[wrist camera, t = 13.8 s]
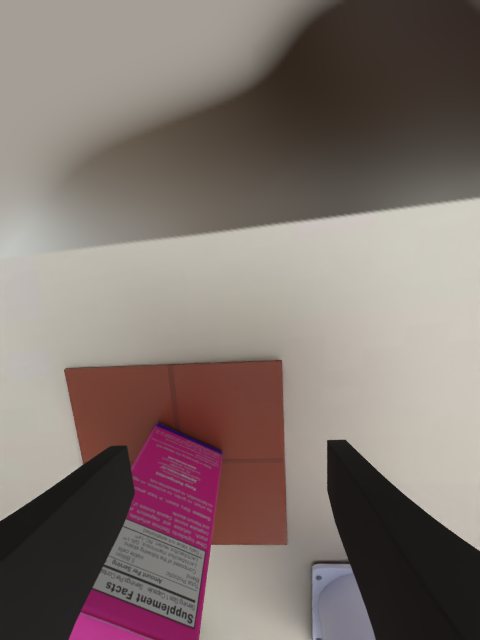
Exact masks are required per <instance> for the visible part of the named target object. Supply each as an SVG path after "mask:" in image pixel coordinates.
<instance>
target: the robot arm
mask: <svg viewBox="0 0 480 640" xmlns="http://www.w3.org/2000/svg"><path fill="white" fill-rule="evenodd" d="M327 491H328V495H329V499H330V503H331V507H332V511H333V515H334V519H335V523H336V526H337V529H338V532H339V535H340V537H341V540H342V543H343V546H344V549H345V551H346V554H347V557H348V560H349V563H350V564H315V565H313V567H312V640H480V551H479V550H477V549H476V548H474V547H473V546H471V545H470V544H468V543H467V542H466V541H464V540H463V539H461V538H460V537H459V536H457V535H456V534H454V533H453V532H452V531H450V530H449V529H448V528H446V527H445V526H443V525H442V524H441V523H439V522H438V521H437V520H435V519H434V518H433V517H431V516H430V515H429V514H428V513H426V512H425V511H424V510H423V509H421V508H420V507H419V506H418V505H416V504H415V503H414V502H413V501H412V500H410V499H409V498H408V497H407V496H405V495H404V494H403V493H402V492H401V491H400V490H398V489H397V488H396V487H395V486H394V485H393V484H392V483H390V482H389V481H388V480H387V479H386V478H385V477H384V476H383V475H382V474H381V473H379V472H378V471H377V470H376V469H375V468H374V467H373V466H372V465H371V464H370V463H369V462H368V461H367V460H366V459H365V458H364V457H363V456H362V455H361V454H360V453H358V452H357V451H356V450H355V449H354V448H353V447H352V446H351V445H350V444H349V443H348V442H347V441H346V440H327ZM134 495H135V489H134V483H133V477H132V471H131V465H130V460H129V454H128V448H127V445H122V446H110V447H108V448H107V449H105V450H104V451H102V452H101V453H99V454H98V455H96V456H95V457H93V458H92V459H91V460H89V461H88V462H86V463H85V464H84V465H82V466H81V467H80V468H78V469H77V470H75V471H74V472H73V473H71V474H70V475H68V476H67V477H66V478H64V479H63V480H61V481H60V482H59V483H57V484H56V485H54V486H53V487H51V488H50V489H49V490H47V491H46V492H44V493H43V494H41V495H40V496H38V497H37V498H35V499H34V500H32V501H31V502H29V503H28V504H26V505H25V506H23V507H22V508H20V509H19V510H17V511H16V512H14V513H13V514H11V515H9V516H8V517H6V518H5V519H3V520H1V521H0V640H69V638H70V635H71V633H72V630H73V628H74V625H75V623H76V621H77V619H78V617H79V615H80V612H81V610H82V608H83V606H84V604H85V602H86V600H87V598H88V596H89V594H90V592H91V590H92V588H93V586H94V584H95V582H96V580H97V578H98V576H99V574H100V572H101V570H102V568H103V566H104V564H105V562H106V560H107V558H108V556H109V554H110V552H111V550H112V548H113V546H114V544H115V542H116V540H117V537H118V535H119V533H120V531H121V529H122V527H123V525H124V523H125V520H126V517H127V515H128V512H129V509H130V507H131V504H132V501H133V498H134Z"/></svg>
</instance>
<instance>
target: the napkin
mask: <svg viewBox="0 0 480 640" xmlns="http://www.w3.org/2000/svg"><path fill="white" fill-rule="evenodd" d="M64 372H65V377H66V381H67V386H68V391H69V396H70V401H71V406H72V411H73V416H74V421H75V426H76V430H77V435H78V440H79V445H80V450H81V455H82V460H83V465H84V464H85V463H86V462H88V461H89V460H91V459H92V458H93V457H95V456H96V455H98V454H99V453H101V452H102V451H104V450H105V449H107V448H108V447H110V446H122V445H127V448H128V454H129V460H130V465H131V467H132V465H133V463H134V461H135V460H136V458H137V456H138V454H139V452H140V451H141V449H142V447H143V445H144V444H145V442H146V440H147V438H148V436H149V434H150V433H151V431H152V429H153V427H154V425H155V424H156V423H157V422H159V423H161V424H163V425H165V426H167V427H169V428H171V429H174V430H176V431H178V432H180V433H182V434H184V435H187V436H189V437H191V438H193V439H196V440H198V441H200V442H202V443H205V444H207V445H209V446H212V447H214V448H216V449H218V450H221V451H223V456H222V464H221V472H220V480H219V487H218V495H217V502H216V510H215V518H214V526H213V533H212V541H211V545H287V522H286V487H285V453H284V418H283V383H282V361H281V360H275V361H248V362H222V363H195V364H169V365H142V366H116V367H89V368H66V369H65V370H64Z"/></svg>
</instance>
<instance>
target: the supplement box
mask: <svg viewBox="0 0 480 640" xmlns="http://www.w3.org/2000/svg"><path fill="white" fill-rule="evenodd" d="M222 456H223V451H221V450H218V449H216V448H214V447H212V446H209V445H207V444H205V443H202V442H200V441H198V440H196V439H193V438H191V437H189V436H187V435H184V434H182V433H180V432H178V431H176V430H174V429H171V428H169V427H167V426H165V425H163V424H161V423H159V422H157V423H156V424H155V425H154V427H153V429H152V431H151V433H150V434H149V436H148V438H147V440H146V442H145V444H144V445H143V447H142V449H141V451H140V452H139V454H138V456H137V458H136V460H135V461H134V463H133V465H132V467H131V471H132V477H133V483H134V489H135V495H134V498H133V501H132V504H131V507H130V509H129V512H128V515H127V517H126V520H125V523H124V525H123V527H122V529H121V531H120V533H119V535H118V537H117V540H116V542H115V544H114V546H113V548H112V550H111V552H110V554H109V556H108V558H107V560H106V562H105V564H104V566H103V568H102V570H101V572H100V574H99V576H98V578H97V580H96V582H95V584H94V586H93V588H92V590H91V592H90V594H89V596H88V598H87V600H86V602H85V604H84V606H83V608H82V610H81V612H80V615H79V617H78V619H77V621H76V623H75V625H74V628H73V630H72V633H71V635H70V638H69V640H199V633H200V626H201V618H202V610H203V603H204V595H205V587H206V579H207V571H208V564H209V556H210V548H211V541H212V533H213V526H214V518H215V510H216V502H217V495H218V487H219V480H220V472H221V464H222Z"/></svg>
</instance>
